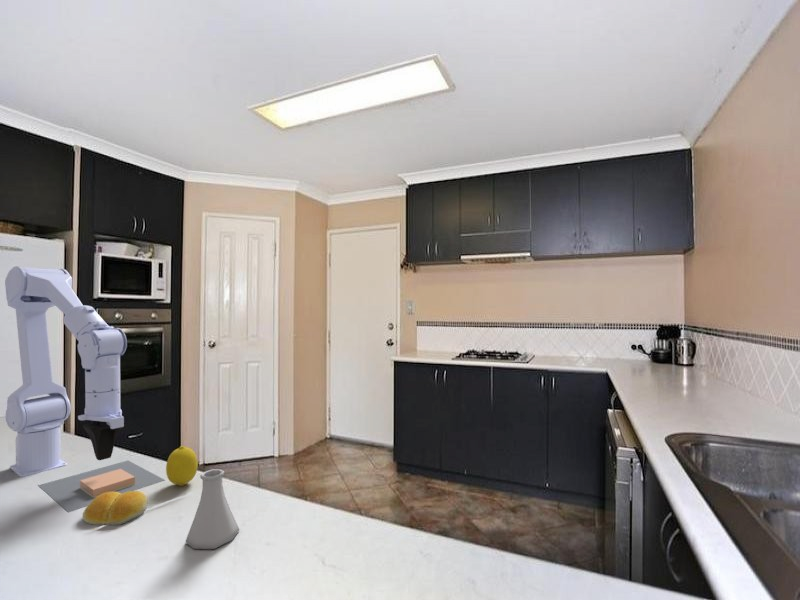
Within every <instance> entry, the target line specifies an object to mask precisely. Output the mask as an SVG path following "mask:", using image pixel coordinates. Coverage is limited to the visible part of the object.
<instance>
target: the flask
mask: <svg viewBox="0 0 800 600" xmlns="http://www.w3.org/2000/svg"><path fill="white" fill-rule="evenodd" d="M224 475H225V471H224V470H223V469H220V468H219V469H218V468H215V469H213V468H212V469H210V470H209V469H208V470H206V471H204V472H203V473H201V474H200V476H199V478H200V479H201V480H202V490H201V495H200V499H199V500H200V501H199V503H198V506H197V508H196V509H197V510H196V512H195V515H194V517H193V521H192V523H191V525H190V528H189V530H188V533H187V535H186V536H187V537H186V539H185V543H186V544H187V545H188V546H189V547H192V548H193V549H195V550H211V549H213V550H214V549H217V548H219V547H221V546H223V545H224V544H226V543H229V542H231V541H232V540H233V539H234V538H235V537H236V535H237V534H238V533H239V531H240V528H239V526H238V523H237V521H236V519H235V516H234V515H233V512H232V510H231V507H230V504H229V503H228V500H227V498H226V496H225V495H226V494H225V492H224V491H225V490H224V486H223V476H224Z"/></svg>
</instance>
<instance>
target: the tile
mask: <svg viewBox="0 0 800 600" xmlns="http://www.w3.org/2000/svg"><path fill="white" fill-rule="evenodd" d="M132 485H135V477H134V476H132V475H131V474H129V473H127V472H126V471H124V470H122V469H118V470H114V471H111V472H107V473H104V474H100V475H97V476H93V477H90V478H86V479H83V480H80V488H81V489H82V490H83V491H85V492H86V493H87V494H89V495H90V496H91V497H93V498H95V497H97V496H99V495H100V494H102V493H106V492H113V491H116V490H120V489H123V488H126V487H129V486H132Z"/></svg>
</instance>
